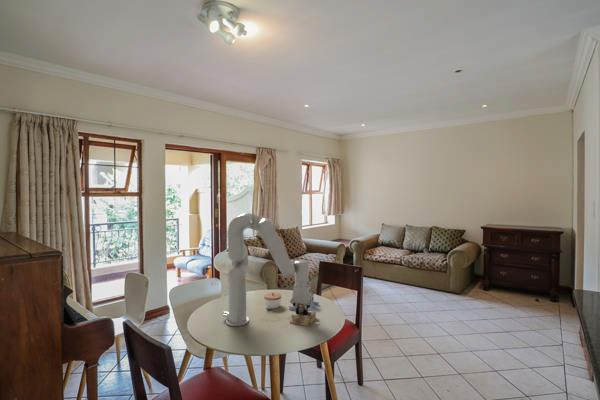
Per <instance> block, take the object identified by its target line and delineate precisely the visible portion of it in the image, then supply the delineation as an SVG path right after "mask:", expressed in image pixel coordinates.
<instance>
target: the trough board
mask: <svg viewBox="0 0 600 400" xmlns="http://www.w3.org/2000/svg"><path fill="white" fill-rule="evenodd" d="M313 303H314V305H313V306H311V307H309V308H308V311H314V312H317V310H318V309H319V307H320V302H319V301H315V300H313ZM308 305H309V304H308ZM288 310H290V311H296V309H295V307H294V305H293V304H291V305H289V306H288Z"/></svg>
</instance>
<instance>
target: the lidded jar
mask: <svg viewBox="0 0 600 400" xmlns="http://www.w3.org/2000/svg"><path fill="white" fill-rule="evenodd" d="M263 297H264V298H263V300H264V305H265V307H266V308H267V309H268V310H270V309H273V310H274V309H277V308H279V307H280V305H281V303H282V294H281V293H278V292H268V293H265V294H264V296H263Z"/></svg>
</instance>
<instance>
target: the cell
mask: <svg viewBox="0 0 600 400" xmlns="http://www.w3.org/2000/svg"><path fill="white" fill-rule="evenodd" d="M304 310H305V306H304V304H298V314H299V315H304Z"/></svg>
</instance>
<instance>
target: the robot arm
mask: <svg viewBox="0 0 600 400" xmlns="http://www.w3.org/2000/svg"><path fill="white" fill-rule="evenodd" d="M246 229H251V230H254V231H258V232H257V233H258V234H259V235H260V237H261V239H262V241H263V242H264V243H265V245H266V248H267V249H268V251H269V253H270V255H271V257H272V258H273V261H274V263H275V264H276V266H277V268H278V269H279V271H280V273H281V274H282V275H283V276H284V277H285V278H291V277H293V276H294V284H293V289H292V295H291V296H292V297H291V299H290V300H289V303H290V304H291V305H294V307H295V309H296V310H295V314H298V304H304V306H305V310H304V315H306V316H307V314H308V308H309V307H311V306H313V305H314V303H313V301H314V300H313V301H312V300H311V293H312V290H311V289H312V288H311V284H312V281H310V279H309V274H310V273H309V272H310V271H309V269H310V268H309V266H310V265H309V261H308V260H305V259H301V260H300V259H298V260H295V259H290V257H289V256H288V254H287V252H286V250H285V245H284V243H283V241H282V239H281V238H280V236H279V234H278V233H277V231H276V229H275V227H274V225H273V221H272V220H271V219H269V218H266V217H264V216H260V215H256V214H253V213H251V212H244V213H240V214H239V215H237V216H236V217H234V218H232V219H231V221H230V222H229V225H228V228H227V248H228V249H227V250H228V254H227V255H228V258H229V260H230V261H231V267H230V268H229V270H228V273H227V284H228V311H223V315H222V317H224V318H226V319H225V324H226V325H228V326H231V327H240V326H244V325H246V324H248V323H249V322H250V317H249V316H248V315H247V275H248V273H249V254H248V252H249V251H248V247H247V245H246V244H245V241H244V240H245V236H244V232H245V230H246ZM309 302H310V304H309ZM308 304H309V305H308Z"/></svg>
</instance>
